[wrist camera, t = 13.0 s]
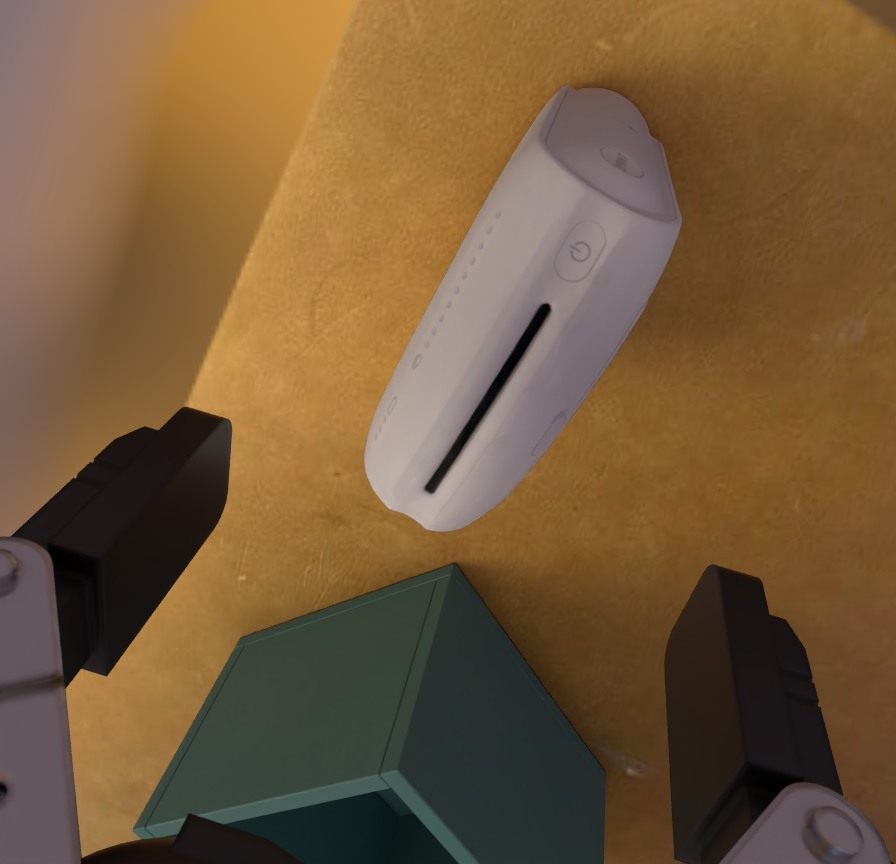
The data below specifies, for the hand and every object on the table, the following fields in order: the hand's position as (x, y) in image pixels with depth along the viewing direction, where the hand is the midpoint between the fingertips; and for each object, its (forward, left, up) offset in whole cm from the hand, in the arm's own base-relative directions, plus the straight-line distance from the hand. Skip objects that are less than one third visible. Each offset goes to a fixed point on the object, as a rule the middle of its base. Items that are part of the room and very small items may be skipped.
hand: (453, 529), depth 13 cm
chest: (+1, -26, -17) cm, 31 cm away
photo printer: (0, 0, -17) cm, 17 cm away
